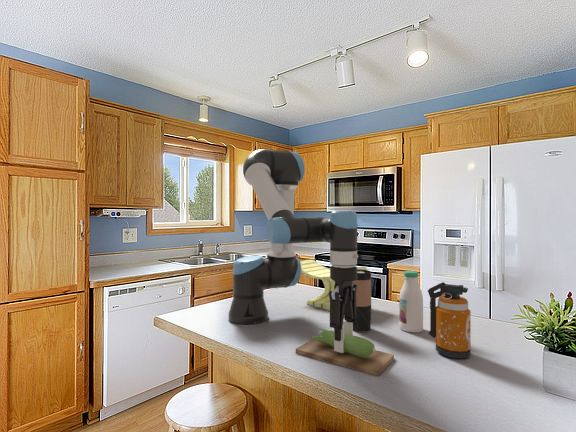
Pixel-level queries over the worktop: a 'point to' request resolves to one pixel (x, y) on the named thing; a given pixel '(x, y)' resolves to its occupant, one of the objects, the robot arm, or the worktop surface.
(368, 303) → the travel mug
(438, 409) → the worktop surface
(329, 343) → the edible corn
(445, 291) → the canister
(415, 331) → the milk bottle
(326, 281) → the slatted curved stool
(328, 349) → the serving board
